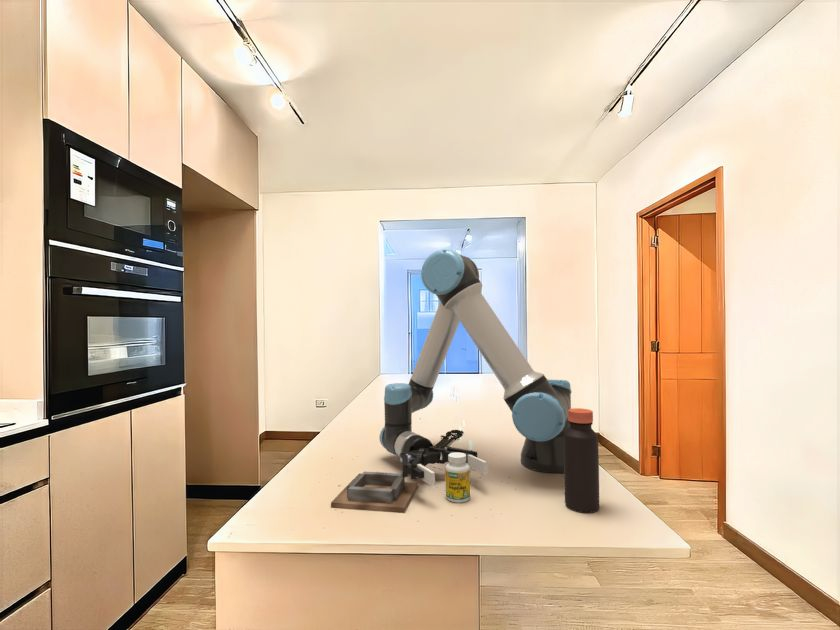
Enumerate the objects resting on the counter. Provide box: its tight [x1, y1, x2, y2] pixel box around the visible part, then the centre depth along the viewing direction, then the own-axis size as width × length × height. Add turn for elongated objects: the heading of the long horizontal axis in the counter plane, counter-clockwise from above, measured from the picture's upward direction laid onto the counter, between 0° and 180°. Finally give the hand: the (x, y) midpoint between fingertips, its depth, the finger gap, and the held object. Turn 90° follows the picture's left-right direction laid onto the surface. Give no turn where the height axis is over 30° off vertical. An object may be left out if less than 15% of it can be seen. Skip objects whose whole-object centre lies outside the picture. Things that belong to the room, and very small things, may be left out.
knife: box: [433, 429, 464, 449], centre depth 142 cm, size 25×6×1 cm, turn 155°
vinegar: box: [563, 407, 600, 514], centre depth 92 cm, size 7×7×20 cm
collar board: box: [330, 471, 419, 514], centre depth 98 cm, size 16×14×4 cm
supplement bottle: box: [444, 452, 471, 504], centre depth 97 cm, size 5×5×10 cm
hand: (460, 473), depth 95 cm, fingers open, 13 cm apart
